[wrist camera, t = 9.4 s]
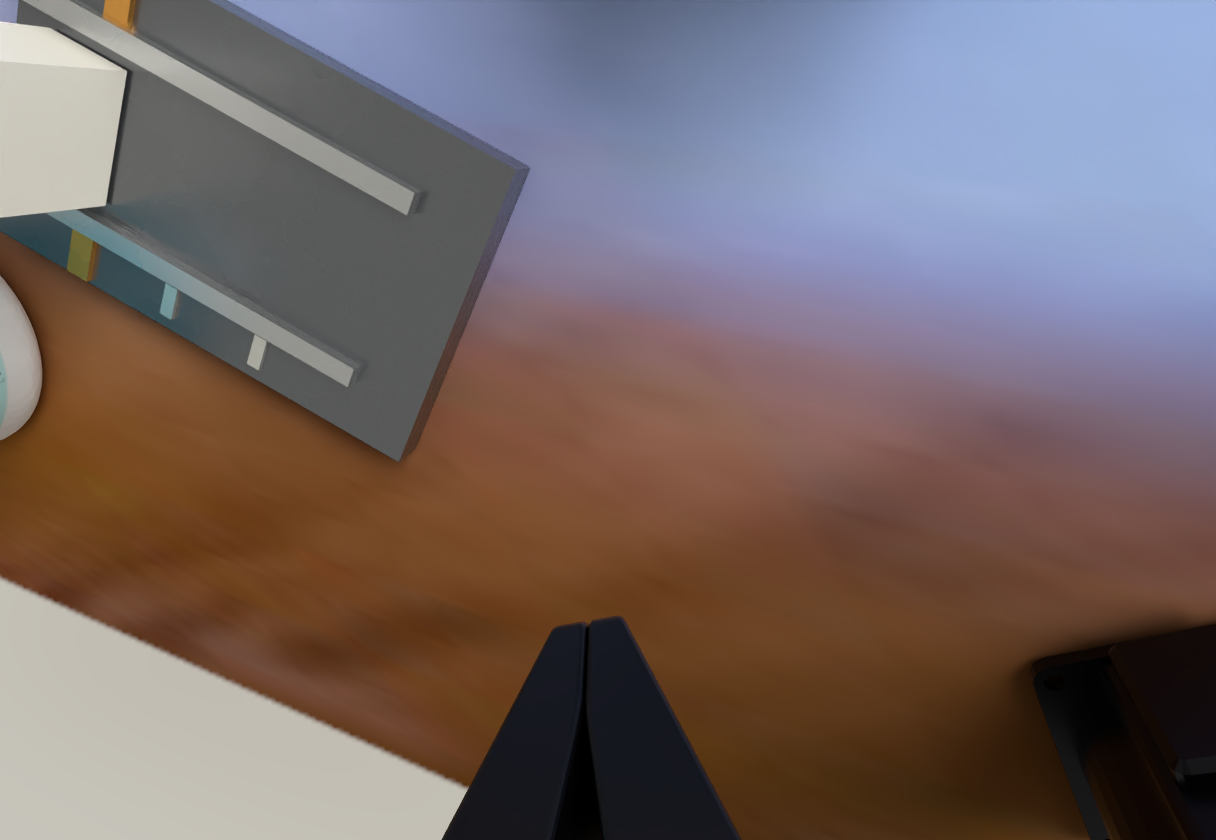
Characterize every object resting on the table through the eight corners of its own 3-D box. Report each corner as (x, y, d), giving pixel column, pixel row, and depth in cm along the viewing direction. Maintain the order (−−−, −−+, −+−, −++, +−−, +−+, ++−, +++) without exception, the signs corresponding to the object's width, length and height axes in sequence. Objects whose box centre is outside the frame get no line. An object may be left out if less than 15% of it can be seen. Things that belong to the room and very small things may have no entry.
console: (530, 167, 19) (509, 170, 18) (415, 448, 23) (391, 467, 22) (64, -89, 20) (13, -104, 19) (28, 225, 24) (-17, 230, 22)
